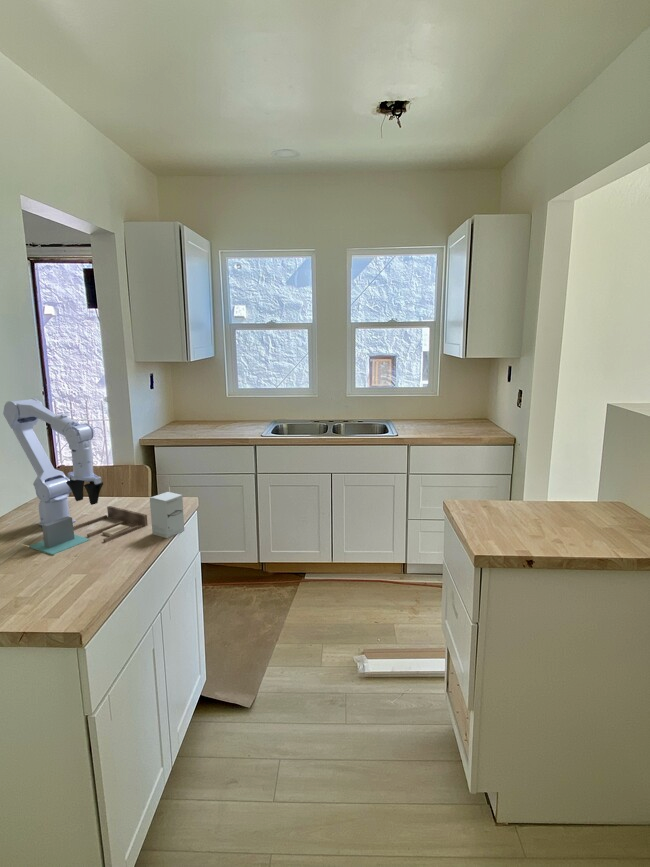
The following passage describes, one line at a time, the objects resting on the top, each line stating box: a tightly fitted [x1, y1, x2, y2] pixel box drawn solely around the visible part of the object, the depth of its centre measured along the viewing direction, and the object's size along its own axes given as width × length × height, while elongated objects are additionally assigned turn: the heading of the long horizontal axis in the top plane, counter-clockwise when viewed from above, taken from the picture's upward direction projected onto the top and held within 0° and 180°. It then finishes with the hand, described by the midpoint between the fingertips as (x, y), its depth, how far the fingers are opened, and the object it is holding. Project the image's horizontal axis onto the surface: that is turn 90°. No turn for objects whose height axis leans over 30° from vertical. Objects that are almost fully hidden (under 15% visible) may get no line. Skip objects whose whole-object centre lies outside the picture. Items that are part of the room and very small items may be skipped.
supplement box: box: [149, 491, 185, 539], centre depth 154 cm, size 7×7×13 cm
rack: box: [73, 505, 149, 543], centre depth 159 cm, size 19×16×4 cm
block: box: [41, 516, 75, 548], centre depth 147 cm, size 2×8×7 cm, turn 151°
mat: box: [28, 534, 91, 556], centre depth 148 cm, size 12×12×1 cm
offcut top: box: [101, 524, 131, 537], centre depth 156 cm, size 4×7×1 cm, turn 154°
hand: (86, 502), depth 158 cm, fingers open, 7 cm apart
